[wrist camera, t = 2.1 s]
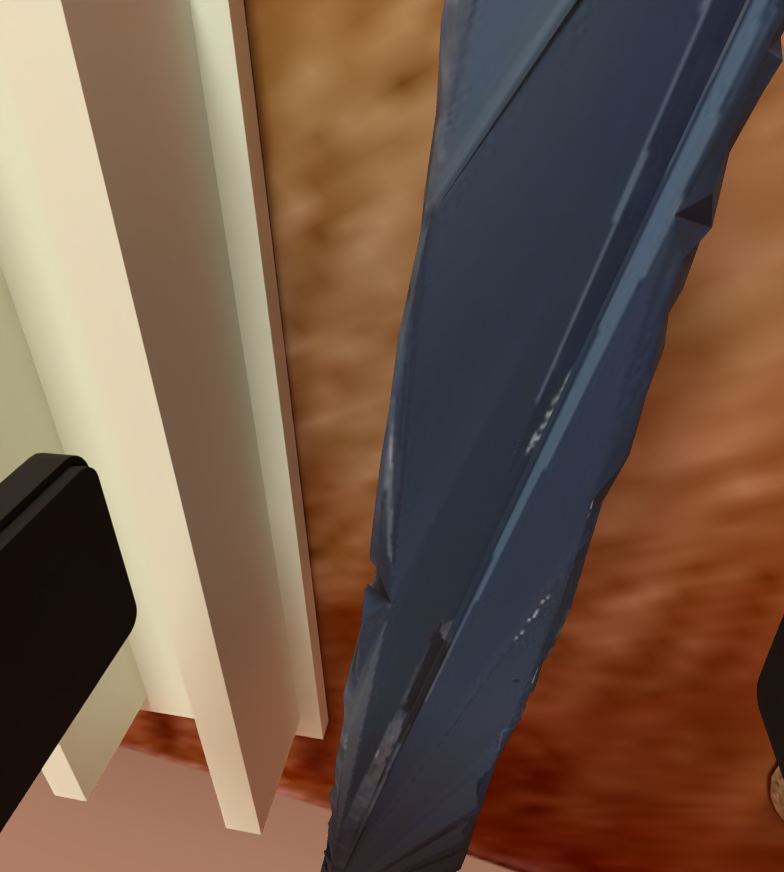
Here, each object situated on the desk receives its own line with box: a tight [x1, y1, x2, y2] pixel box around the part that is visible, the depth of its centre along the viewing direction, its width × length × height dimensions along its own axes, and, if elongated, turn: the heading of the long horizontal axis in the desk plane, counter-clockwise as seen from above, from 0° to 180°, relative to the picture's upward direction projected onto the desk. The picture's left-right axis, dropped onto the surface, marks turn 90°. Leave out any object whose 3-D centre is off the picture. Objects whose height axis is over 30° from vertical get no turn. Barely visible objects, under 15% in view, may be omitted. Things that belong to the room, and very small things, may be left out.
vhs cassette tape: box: [321, 0, 784, 872], centre depth 12 cm, size 18×3×10 cm, turn 170°
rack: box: [0, 0, 328, 834], centre depth 18 cm, size 9×25×5 cm, turn 1°
